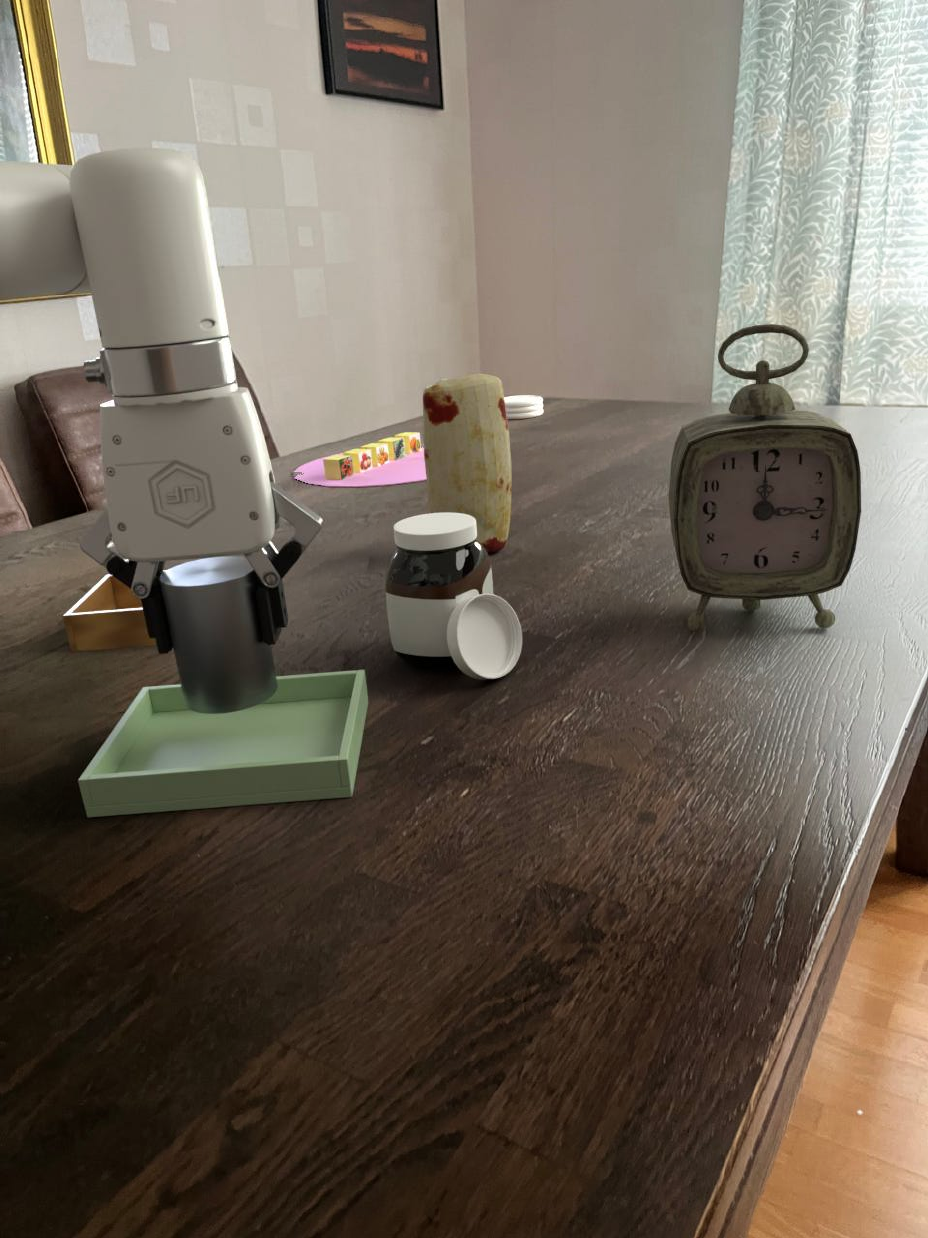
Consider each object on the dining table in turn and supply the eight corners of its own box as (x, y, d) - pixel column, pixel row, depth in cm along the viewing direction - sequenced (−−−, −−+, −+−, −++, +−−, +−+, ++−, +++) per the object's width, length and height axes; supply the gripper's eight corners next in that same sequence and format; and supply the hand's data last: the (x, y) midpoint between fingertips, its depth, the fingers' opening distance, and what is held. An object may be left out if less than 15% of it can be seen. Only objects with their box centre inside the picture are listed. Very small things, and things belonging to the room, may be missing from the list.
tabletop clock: (674, 640, 82) (673, 335, 73) (667, 603, 91) (666, 326, 82) (852, 636, 80) (874, 321, 71) (829, 599, 88) (845, 313, 80)
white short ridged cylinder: (489, 420, 197) (488, 403, 196) (502, 412, 206) (501, 395, 204) (536, 419, 194) (535, 401, 192) (548, 410, 202) (547, 393, 201)
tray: (86, 818, 62) (77, 780, 61) (149, 719, 76) (142, 686, 75) (352, 797, 62) (347, 759, 61) (368, 702, 75) (364, 669, 74)
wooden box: (72, 657, 90) (62, 615, 88) (114, 611, 101) (106, 574, 100) (203, 646, 89) (195, 605, 88) (230, 602, 101) (223, 565, 99)
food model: (441, 567, 107) (424, 382, 100) (426, 551, 113) (409, 376, 106) (524, 553, 109) (514, 372, 102) (505, 539, 115) (494, 366, 108)
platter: (252, 481, 158) (248, 461, 157) (369, 442, 183) (367, 425, 182) (412, 492, 142) (410, 469, 140) (517, 448, 167) (516, 428, 165)
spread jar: (428, 629, 89) (416, 506, 85) (546, 638, 85) (539, 509, 81) (370, 683, 79) (353, 545, 75) (501, 695, 75) (491, 551, 70)
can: (173, 717, 64) (147, 590, 61) (196, 678, 70) (173, 560, 67) (269, 710, 64) (247, 581, 61) (284, 671, 70) (265, 552, 67)
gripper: (7, 392, 56) (76, 675, 62) (304, 367, 56) (343, 652, 62) (56, 377, 63) (113, 632, 69) (319, 355, 63) (353, 612, 69)
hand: (221, 639), depth 66 cm, fingers closed on can, 6 cm apart
